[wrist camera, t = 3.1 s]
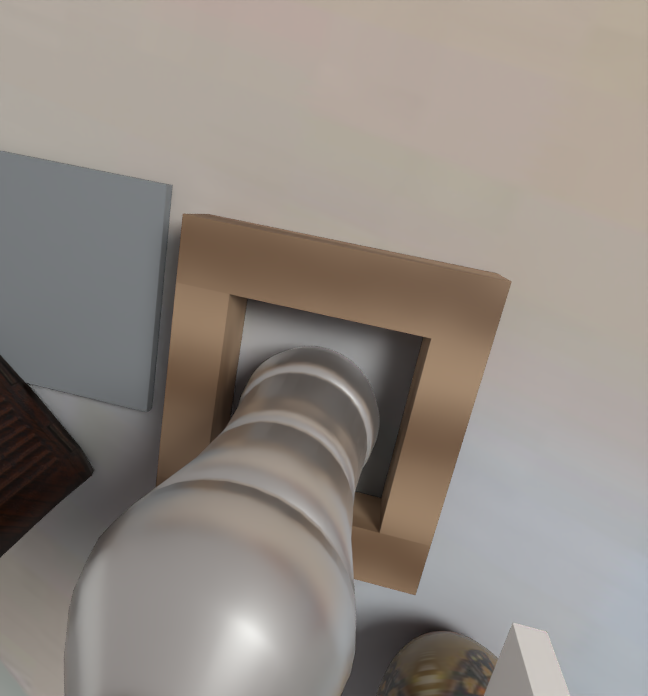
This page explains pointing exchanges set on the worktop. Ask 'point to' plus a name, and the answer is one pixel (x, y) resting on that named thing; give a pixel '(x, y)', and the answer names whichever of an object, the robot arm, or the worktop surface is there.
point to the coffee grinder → (32, 459)
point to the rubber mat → (82, 278)
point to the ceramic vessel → (439, 667)
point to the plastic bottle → (237, 552)
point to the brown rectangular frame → (350, 304)
